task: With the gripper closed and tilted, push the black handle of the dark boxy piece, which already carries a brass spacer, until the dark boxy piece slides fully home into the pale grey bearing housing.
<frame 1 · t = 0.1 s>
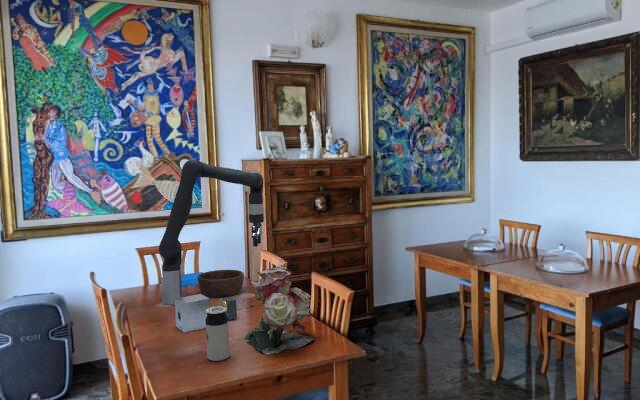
hand: (257, 245, 260), 29 cm above the table, tool pointing down, fingers open, 8 cm apart
book: (186, 284, 308), on the table
housing: (193, 326, 227), on the table
wooden bowl: (221, 293, 283), on the table
dark boxy piece: (214, 311, 232), point 5 cm above the table, slide at 8.0 cm
travel mug: (218, 357, 191), on the table
rose bouquet: (282, 341, 206), on the table
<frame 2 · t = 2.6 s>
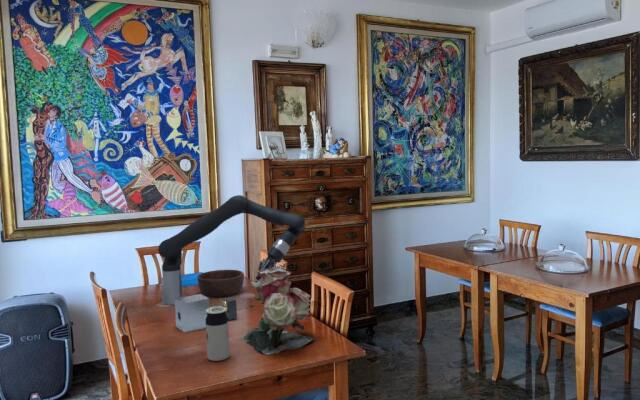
hand: (257, 279, 244), 16 cm above the table, tool tilted 45°, fingers closed
nothing on the table moved.
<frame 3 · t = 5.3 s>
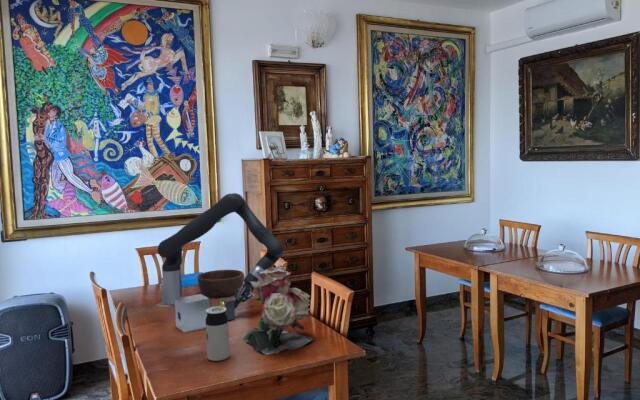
hand: (232, 307, 237), 5 cm above the table, tool tilted 45°, fingers closed
dark boxy piece: (212, 311, 232), point 5 cm above the table, slide at 7.0 cm, touching gripper
everything else where it was.
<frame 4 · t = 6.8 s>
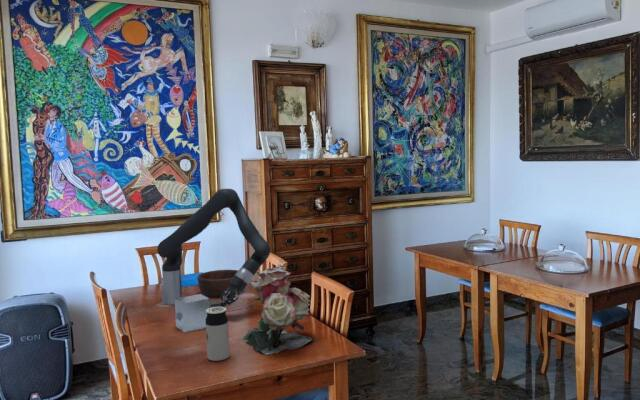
hand: (218, 310, 233), 5 cm above the table, tool tilted 45°, fingers closed
dark boxy piece: (197, 315, 228), point 5 cm above the table, slide at -0.1 cm, touching gripper
everything else where it was.
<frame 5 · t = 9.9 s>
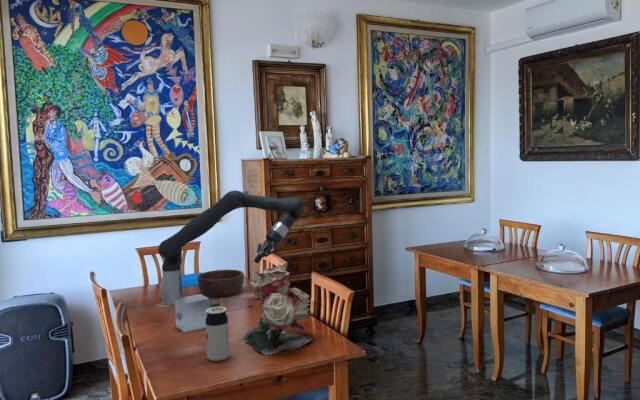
hand: (255, 262, 243), 24 cm above the table, tool tilted 45°, fingers closed
dark boxy piece: (197, 315, 228), point 5 cm above the table, slide at 0.0 cm
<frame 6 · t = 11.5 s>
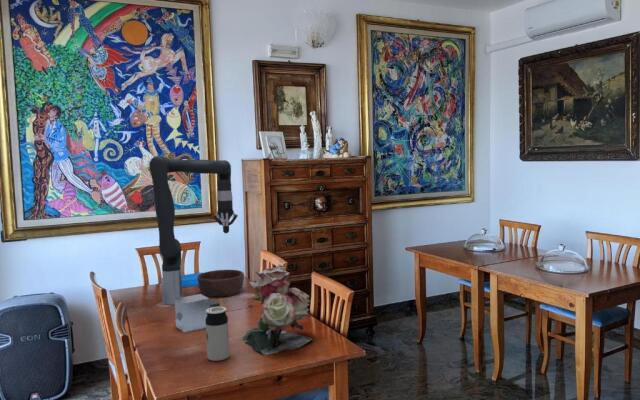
hand: (226, 233, 266), 35 cm above the table, tool pointing down, fingers closed
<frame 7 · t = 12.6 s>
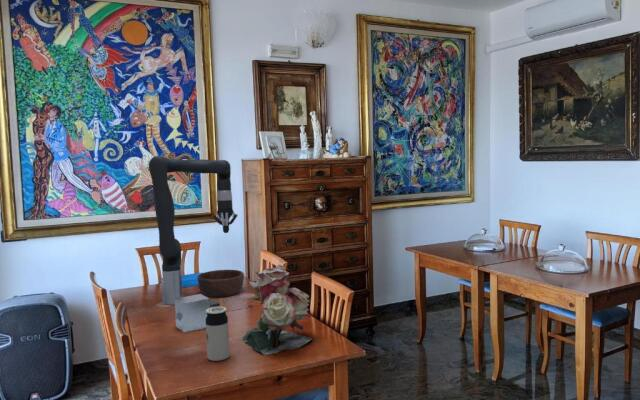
hand: (226, 232, 266), 35 cm above the table, tool pointing down, fingers closed
at the end: dark boxy piece slide at 0.0 cm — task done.
